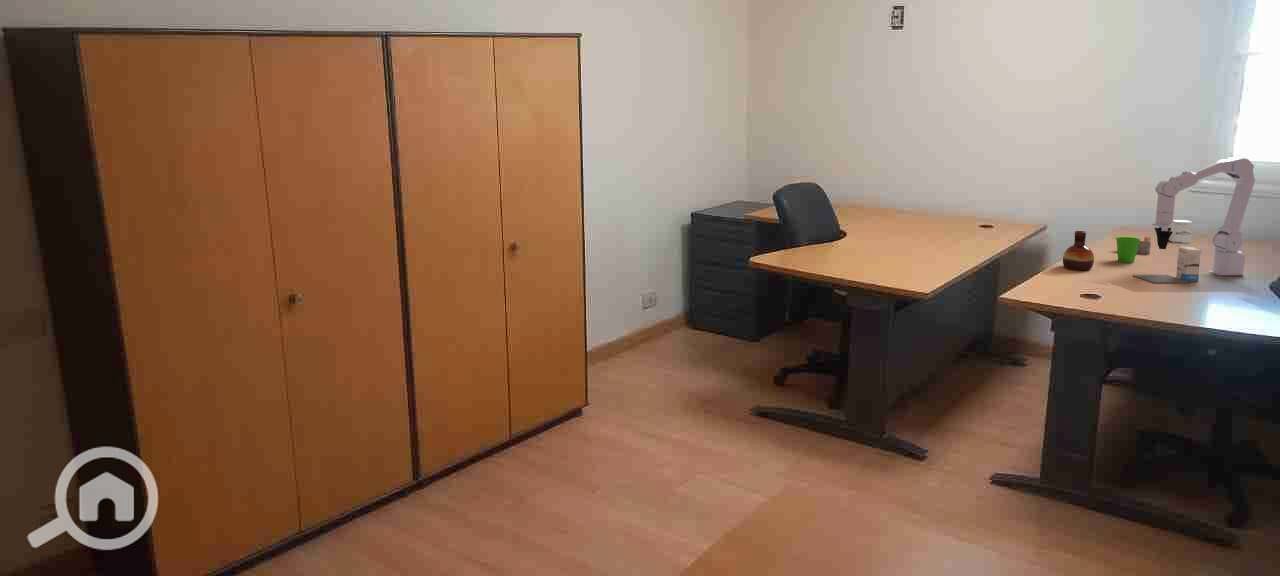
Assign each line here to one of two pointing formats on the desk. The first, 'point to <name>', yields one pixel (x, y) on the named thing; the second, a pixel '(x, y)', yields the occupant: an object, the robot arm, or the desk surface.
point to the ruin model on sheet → (1144, 246)
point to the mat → (1160, 279)
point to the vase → (1078, 254)
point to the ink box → (1188, 263)
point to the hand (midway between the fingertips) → (1161, 247)
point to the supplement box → (1181, 231)
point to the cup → (1127, 248)
